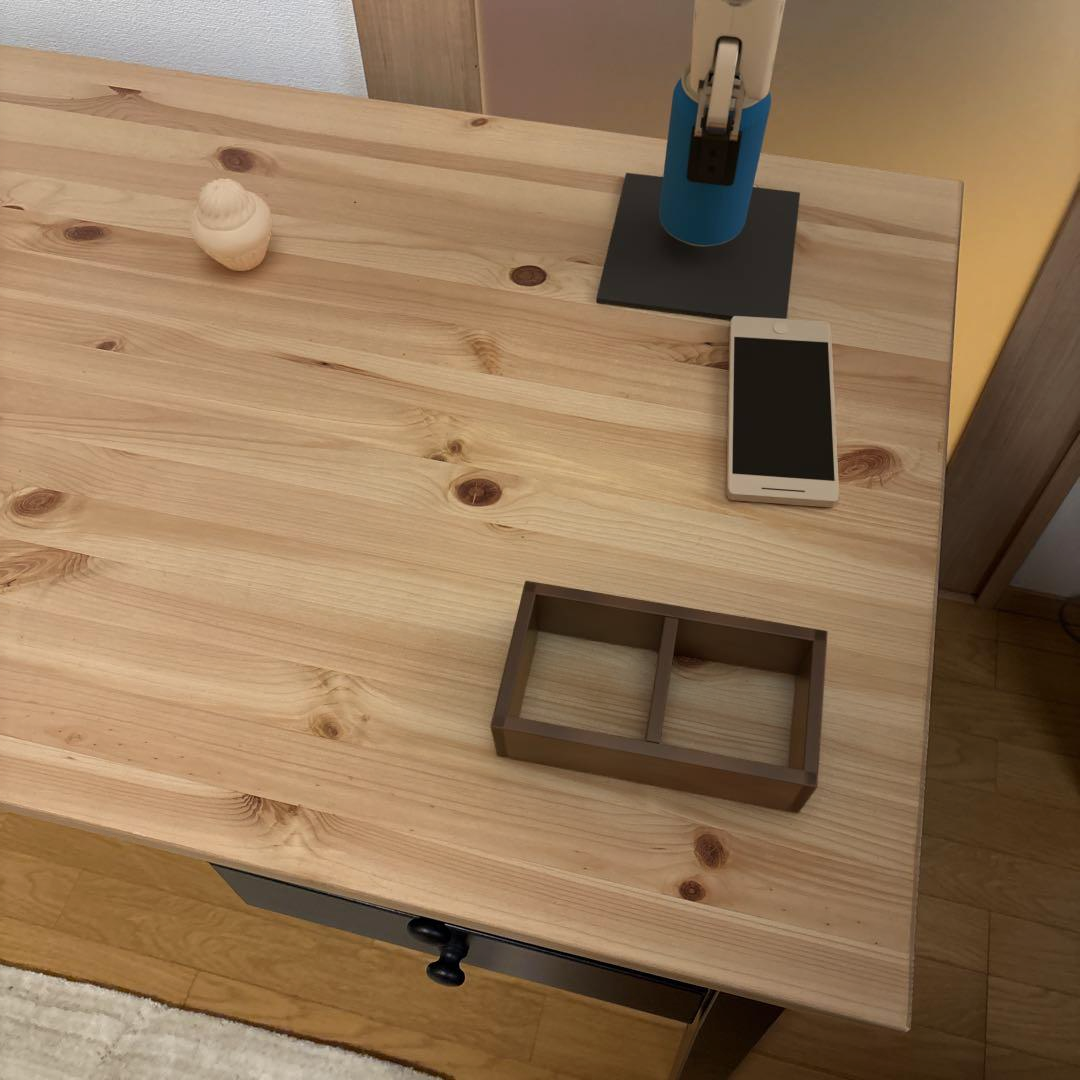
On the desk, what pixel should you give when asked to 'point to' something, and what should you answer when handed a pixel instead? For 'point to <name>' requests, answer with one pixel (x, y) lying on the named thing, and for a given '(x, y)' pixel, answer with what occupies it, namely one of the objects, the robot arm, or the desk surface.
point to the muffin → (231, 224)
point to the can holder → (665, 695)
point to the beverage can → (699, 206)
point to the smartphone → (781, 412)
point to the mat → (700, 258)
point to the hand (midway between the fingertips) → (716, 144)
